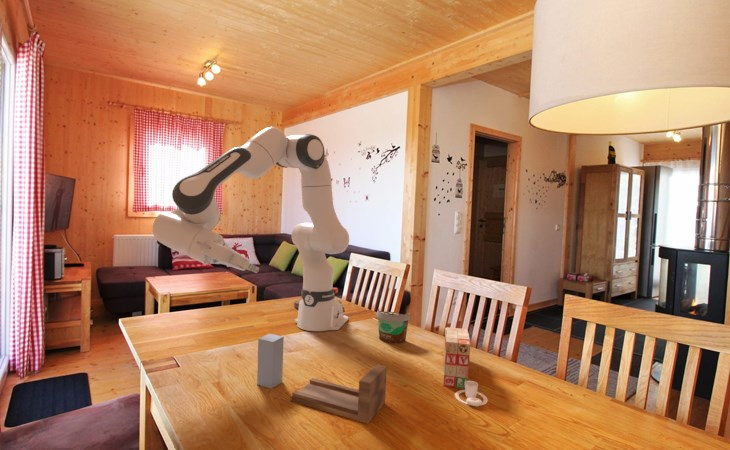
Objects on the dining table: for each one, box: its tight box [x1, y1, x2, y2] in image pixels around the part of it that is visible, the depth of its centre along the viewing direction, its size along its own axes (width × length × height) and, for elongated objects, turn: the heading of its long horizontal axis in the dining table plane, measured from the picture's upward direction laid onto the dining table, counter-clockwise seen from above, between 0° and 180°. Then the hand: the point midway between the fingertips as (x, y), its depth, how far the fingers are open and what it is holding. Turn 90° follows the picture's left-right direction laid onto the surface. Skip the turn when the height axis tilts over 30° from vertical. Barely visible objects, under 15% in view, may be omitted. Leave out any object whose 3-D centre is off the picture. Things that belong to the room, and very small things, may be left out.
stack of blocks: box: [443, 326, 472, 390], centre depth 114 cm, size 21×6×12 cm, turn 169°
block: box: [256, 333, 285, 390], centre depth 102 cm, size 4×4×12 cm
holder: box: [290, 363, 388, 425], centre depth 94 cm, size 10×20×9 cm, turn 66°
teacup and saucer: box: [454, 380, 489, 407], centre depth 99 cm, size 9×8×4 cm
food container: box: [375, 308, 412, 345], centre depth 137 cm, size 12×6×10 cm, turn 68°
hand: (253, 268), depth 108 cm, fingers open, 8 cm apart
